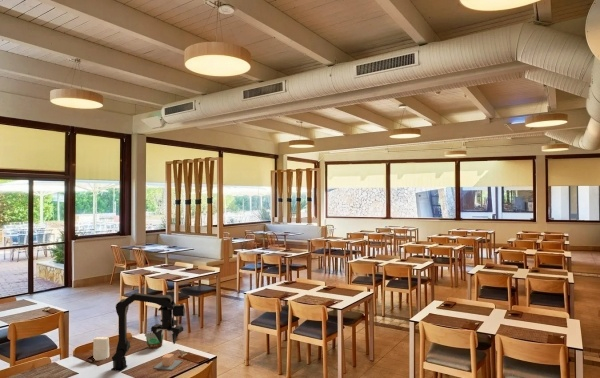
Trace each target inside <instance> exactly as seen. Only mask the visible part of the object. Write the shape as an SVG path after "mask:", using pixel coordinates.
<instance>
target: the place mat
mask: <svg viewBox="0 0 600 378" xmlns="http://www.w3.org/2000/svg"><path fill="white" fill-rule="evenodd" d="M183 362H184V361H183V360H178V359H174V363H173V364H172V365H171V366H163V365H162V361H160V362H159V363H157V364H156V365H155V366H153V369H155V370H164V371H173V370H174V369H176V368H177V367H178V366H179V365H181V364H182V363H183Z"/></svg>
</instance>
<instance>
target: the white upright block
mask: <svg viewBox="0 0 600 378" xmlns="http://www.w3.org/2000/svg"><path fill="white" fill-rule="evenodd" d="M92 344H93V348H92V349H93V350H92V353H93V355H92V356H93V358H94V359H95V360H94V359H93V360H94V361H104V360H107V359H108V358H109V357H110V339H109V337H106V336H105V337H102V336H101V337H94V338H93V343H92ZM106 358H107V359H106Z"/></svg>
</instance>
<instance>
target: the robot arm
mask: <svg viewBox="0 0 600 378" xmlns="http://www.w3.org/2000/svg"><path fill="white" fill-rule="evenodd" d="M135 301H137V302H144V303H152V304H156V305H158V306H160V307H159V308H158V311H161V319H160V322H161V324H159V323H158V324H157V323H156V324H153V325H152V326H151V328H150V331H151V332H150V333H152V332H153V333H154V334H155V335H156V337H157V338H158V340H159V342H160V343H161V341H162V334H161V333H162V331H163V330H164V331H169V332H172V334H171V336H172V344H173V345H175V344H176V342H177V339H178V337H179V335H180V334H181V333H183V332H184V327H183V325H178V323H179V320H177V319H174V317H175V318H178V317H185V316H186V307H185V304H184V303H183V304H177V303H176V302H175V301H174V300H173V297H172V295H171V294H161V295H155V294H154V295H153V294H149V293H148V294H147V293H140V292H133V293H132V294H131V295H129V296H128V297H126V298H122V299H121V300H119V301H118V302H116V304H115V311H116V314H117V316H118V342H117V344H116V345H117V346H116V349H115V353H114V354H113V356H111V360H112V368H111V371H116V372H117V371H118V372H120V371H122V370H125V368H127V367H128V364H127V357H126V355H127V353H129V351H130V349H131V340H128V337H127V336H128V335H127V328H128V327H127V323H128V322H127V314H128V311H129V307H130V305H131V304H132V303H133V302H135Z"/></svg>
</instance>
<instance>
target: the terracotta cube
mask: <svg viewBox="0 0 600 378" xmlns="http://www.w3.org/2000/svg"><path fill="white" fill-rule="evenodd" d="M174 360H175V354H174V353H166V354H164V355H163V356H162V357H161V362H162V365H163V366H171V365H172V364H173V363H174Z"/></svg>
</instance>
